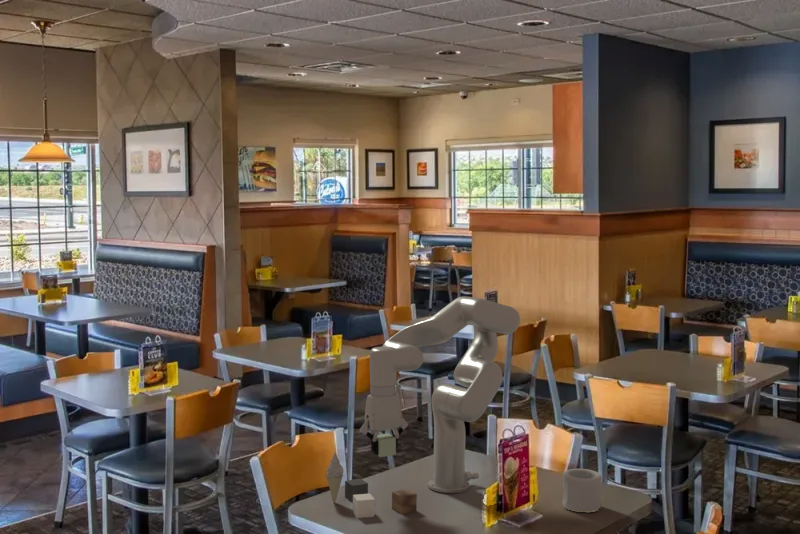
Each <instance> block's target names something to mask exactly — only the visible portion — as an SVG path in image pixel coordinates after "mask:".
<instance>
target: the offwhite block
mask: <svg viewBox="0 0 800 534" xmlns="http://www.w3.org/2000/svg"><path fill="white" fill-rule="evenodd" d="M375 500H376V499H375V498H374V496H373V495H372V494H371V493H368V494H358V495H353V502H352V513H353V515H354V517H356V519H364V517H365V518H374V517H375V514H376V513H375V511H376V510H375V504H376V503H375V502H376V501H375Z"/></svg>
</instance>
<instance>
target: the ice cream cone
mask: <svg viewBox="0 0 800 534" xmlns="http://www.w3.org/2000/svg"><path fill="white" fill-rule="evenodd" d="M340 461H341V460H339V458H338V455H337V452H336V451H334V454H333V456H332V458H331V459H330V465H328V466H327V468H326V472H327V473H326V474H325V477H326V480H327V484H328V488H329V490H330V495H331V499H332V503H333V504H334V503H336V501H337V498H338V493H339V491H340V486H341V483H342V480H343V476H344V467H343V466H342V464H341V463H340Z"/></svg>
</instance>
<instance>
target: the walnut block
mask: <svg viewBox="0 0 800 534" xmlns="http://www.w3.org/2000/svg"><path fill="white" fill-rule="evenodd" d="M417 498H418V494H417V493H416V492H414V491H412V490H410V489H407V488H405V489H400V490H395V491H391V509H392V510H393V511H395V512H398V513H399V514H400V515H404V514H405V515H406V514H408V513H409V514H410V513H413V512H417V507H418V506H417V504H418V501H417V500H418V499H417Z"/></svg>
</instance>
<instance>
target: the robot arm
mask: <svg viewBox="0 0 800 534" xmlns="http://www.w3.org/2000/svg"><path fill="white" fill-rule="evenodd" d="M519 314H520V313H519V312H518V310H517V309H515V308H514V307H513V306H510V305H506V304H501V303H500V302H499V303H498V302H495V301H492V300H488V299H485V298H480V297H473V296H459V297H457V298H454V299H453V300H452V301H451V302H449V303H448V304H447V305H446V306H445V307H443V308H442V309H441V310H439V311H438V312H436V313H435V314H434V315H432V316H431V317H430V318H428V319H426V320H422V321H419V322H417V323H415V324H412V325H409V326H407V327H405V328H402V329H401V330H399V331H398V332H397V333H395V334H394V335H392V336H391V337H390V338H389V339H387V340H386V341H385V342H384V343H383V344H382V345H381V346H375V347H372V348H371V349H370V351H369V378H370V379H369V381H370V382H369V384H370V390H369V392H370V394H368V395H366V396H367V397H366V403H365V410H364V422H363V424H362V426H361V427H360V428H359V432H361V433H362V434H363V435H365V436H366V437H367V438H368V439H369V440H370V451H371V452H372V453H373V454H374V455H375V456H377V455H378V441H377V436H378V435H379V432H380V431H381V432H383V431H390V434H391V435H392V436H394V437H395V438H396V453H397V451H398V448H399V445H398V444H399V443H398V440H399V438H400V435H401V434H402V433H403V431H404V430H405V429H406V428H407V427H408V426H409V424H408V422H407V421H406V420H405V419H404V417H403V415H402V412H403V411H402V403H401V399H400V395H399V393H398V390H401V389H402V386H401V384H398V383H397V373H398V372H412V371H415V370H418V369H419V368H420V367H421V366H422V364H423V363H424V353H423V351H422V349H420V348H421V347H426V346H434V345H440V344H444V343H446V342H448V341H449V340H450V339H451V338H453V337H454V336H456V335H457V334H458V333H460V331H462V330H463V329H464V328H466V327H468V326H473V339H472V342H471V344H470V346H469V347H468V348H467V350H466V351H465V353H464V354H463V356H462V357H461V359H460V360H459V362H458V364H457V365H456V367H455V368H454V372H453V379H454V381H455V382H456V383H457V384H458V385H455V384H451V383H444V384H439V386H437V387H436V388H435V389H434V390H433V392H432V395H431V402H430V403H431V410H432V414H433V424H434V425H433V426H434V427H433V430H434V431H433V432H434V434H433V478H432V479H430V480H429V481H428V483H427V487H428V488H429V489H430V490H432V491H434V492H438V493H442V494H443V493H444V494H456V493H459V494H460V493H463V492H466V491H468V490H469V488H470V482H469V481H470V480H478V479H479V478H480V476H479V475H480V474H479V472H478V471H476V472H471V471H466V470H465V467H466V465H465V463H466V458H465V457H466V426H465V422H467V423H472V422H475V421H477V420H479V419H480V418H481V417H482V415H483V414H484V413H485V411H486V410H487V408H488V407H489V405H490V403H492V401H493V399H494V397H495V396H496V394H497V392H498V391H499V389H500V387H501V385H502V381H503V370H502V369H501V367H500V365H499V364H498V363H496V362H494V360H495V358H496V357H497V354H498V352H499V343H498V342H499V341H498V335H497V333H498V334H503V335H504V334H505V335H510V334H513V333H515V332H516V331H517V329H518V328H519V326H520V324H521V323H520V322H521V317H520V315H519ZM459 385H460V386H459ZM368 429H369V430H370V431H368Z"/></svg>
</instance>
